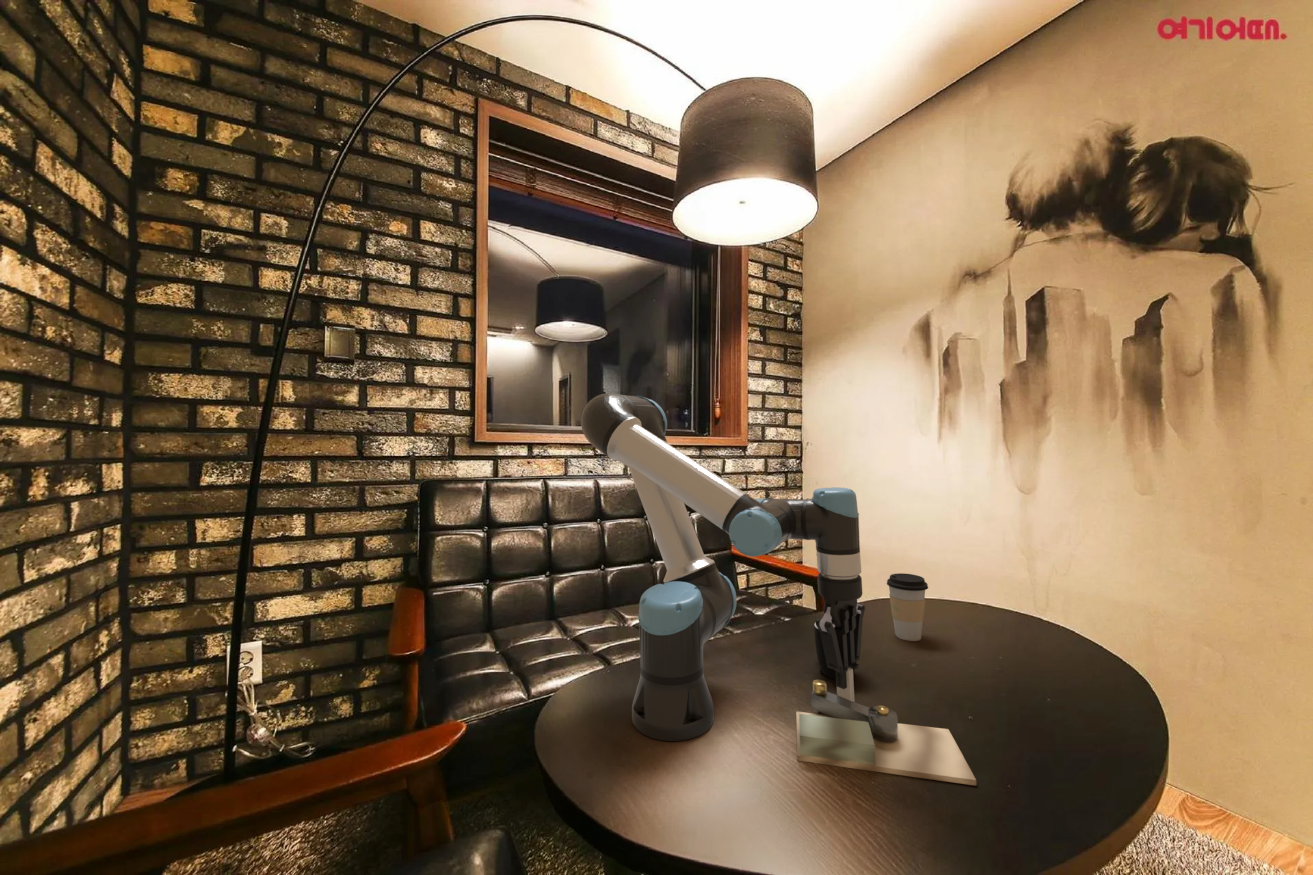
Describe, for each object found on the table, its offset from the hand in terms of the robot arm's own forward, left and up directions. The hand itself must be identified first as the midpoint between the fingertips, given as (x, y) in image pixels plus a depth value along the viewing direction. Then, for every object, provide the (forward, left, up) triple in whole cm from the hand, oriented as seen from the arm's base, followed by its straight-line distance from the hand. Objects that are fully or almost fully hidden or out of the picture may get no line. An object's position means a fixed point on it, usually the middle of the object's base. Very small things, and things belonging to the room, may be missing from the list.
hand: (845, 703), depth 89 cm
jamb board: (+4, -8, -3) cm, 9 cm away
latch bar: (+1, -3, -2) cm, 3 cm away
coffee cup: (+19, +42, -3) cm, 47 cm away
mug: (-1, +19, -3) cm, 20 cm away
